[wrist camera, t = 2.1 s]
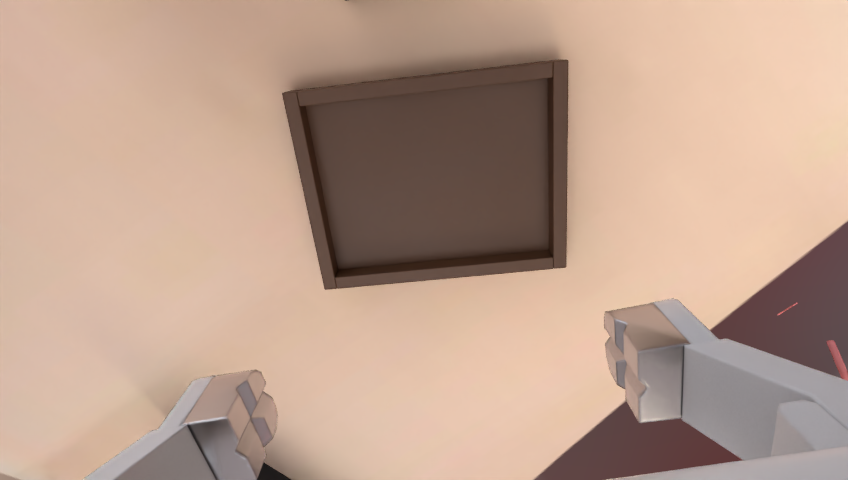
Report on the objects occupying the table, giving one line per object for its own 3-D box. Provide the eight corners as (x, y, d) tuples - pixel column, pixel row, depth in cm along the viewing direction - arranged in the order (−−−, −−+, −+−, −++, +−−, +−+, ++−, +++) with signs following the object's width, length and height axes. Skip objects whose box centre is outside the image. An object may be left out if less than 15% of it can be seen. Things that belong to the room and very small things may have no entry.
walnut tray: (330, 277, 38) (324, 290, 36) (290, 90, 32) (281, 92, 30) (559, 256, 37) (566, 267, 35) (560, 59, 31) (568, 59, 29)
